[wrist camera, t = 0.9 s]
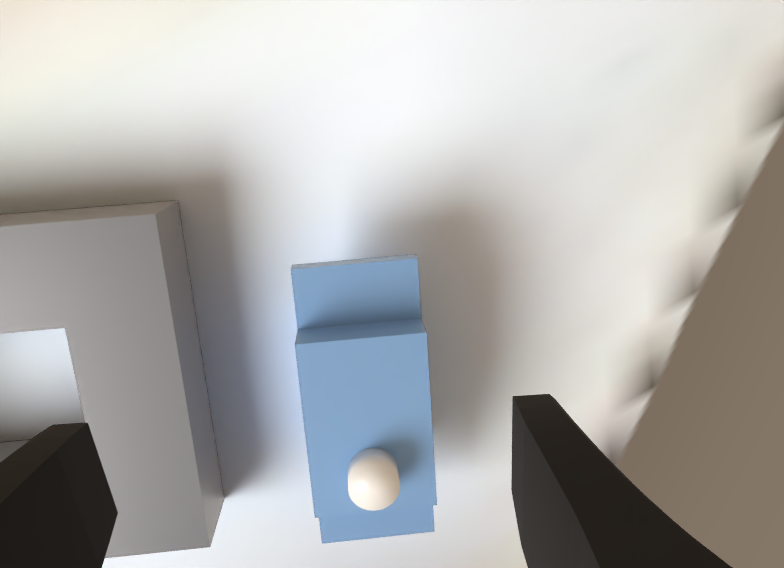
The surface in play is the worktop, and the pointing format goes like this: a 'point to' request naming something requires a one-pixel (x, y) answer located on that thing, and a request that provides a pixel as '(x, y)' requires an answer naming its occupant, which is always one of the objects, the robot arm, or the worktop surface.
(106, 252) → the chassis
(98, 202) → the worktop surface
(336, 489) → the servo
